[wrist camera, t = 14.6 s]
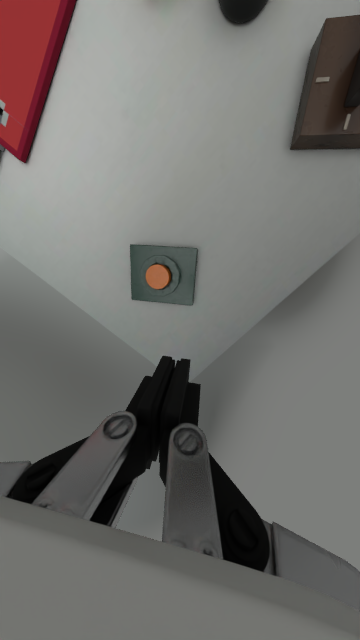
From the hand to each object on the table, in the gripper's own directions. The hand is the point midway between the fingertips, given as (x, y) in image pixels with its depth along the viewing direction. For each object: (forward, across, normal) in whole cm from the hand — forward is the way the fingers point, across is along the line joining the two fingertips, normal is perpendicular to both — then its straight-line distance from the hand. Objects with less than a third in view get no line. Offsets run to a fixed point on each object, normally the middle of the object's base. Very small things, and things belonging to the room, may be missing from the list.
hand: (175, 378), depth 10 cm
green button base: (+25, +7, -4) cm, 26 cm away
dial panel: (+25, -16, -28) cm, 41 cm away
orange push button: (+21, +7, -4) cm, 23 cm away
